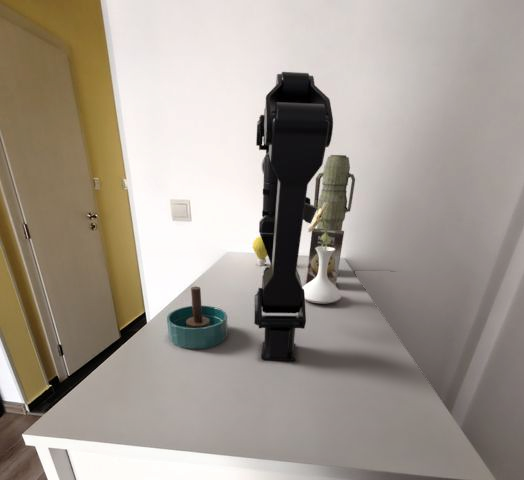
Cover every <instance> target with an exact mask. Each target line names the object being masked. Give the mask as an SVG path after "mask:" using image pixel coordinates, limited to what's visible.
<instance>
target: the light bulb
mask: <svg viewBox="0 0 524 480" xmlns="http://www.w3.org/2000/svg"><path fill="white" fill-rule="evenodd" d="M252 249H253V251H254V254H255V255H256V257H257V259H256V262H257V265H258V266H260V267H263V266H265V265H266V263H267V259H266V257H268V255H267V252H266V249H265V246H264V244H263V241H262V238H261V236H260V235H259V236H257V237H256V238H255V239H254V240H253V242H252Z"/></svg>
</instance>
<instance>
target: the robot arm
mask: <svg viewBox="0 0 524 480" xmlns="http://www.w3.org/2000/svg"><path fill="white" fill-rule="evenodd" d="M264 104H265V105H264V108H263V109H264V110H263V114H260V115H259V117H258V120H257V122H256V137H255V139H256V140H255V141H256V142H255V146H256V147H257V146H258V151H265V155H264V156H263V159H262V161H261V171H262V174H263V184H262V185H263V186H262V187H263V188H262V211H261V216H262V218H261V219H260V220H259V224H258V226H259V227H258V233H259V237H260V236H261V238H262V241H263V244H264V246H265V249H266V252H267V257H268V260H269V263H270V266H265V268H264V270H263V273H262V274H263V275H262V277H261V278H262V279H261V287H258V289H257V292H256V294H255V295H254V320H253V321H254V322H253V323H254V325H256V326H258V329H264V340H263V341H262V348H261V353H260V359H261V360H268V361H284V362H295V361H296V359H297V356H296V355H297V354H296V343H295V336H296V329H301V330H305V328H306V323H307V316H306V315H307V314H306V313H307V312H306V300H305V294H304V289H303V288H302V287H303V285H302V280H301V276H300V273H299V270H298V269H297V268H298V260H299V254H300V246H301V245H300V244H301V237H302V230H303V223H304V222H305V223H307V224H310V225H311V224H312V223H313V222H312V220H313V219H314V218H315V215H316V214H317V208H316V207H315V206H314V204H311V198H310V197H307V193H308V187H309V186H308V185H309V183H310V182H311V181H312V180H313V178H314V177H315V176H316V175H317V173H318V172H319V170H320V169H321V168H322V166H323V164H324V159H325V153H326V148H329V147H330V144H331V142H332V137H333V130H334V117H333V112H332V111H333V110H332V105H331V100H330V98H329V97H328V96H327V95H326V94H325V93H324V92H322V90H321V89H319V87H318V86H316V85H315V77H314V75H310V74H309V73H308V72H298V71H297V72H295V71H282V72H281V73H277V74H276V77H275V85H274V87H273V88H272V89H271V90H270V91H269V92H268V93H267V94H266V95H265V103H264ZM263 313H264V315H263ZM265 314H266V315H265ZM268 314H297V315H268Z"/></svg>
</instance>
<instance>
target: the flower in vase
mask: <svg viewBox="0 0 524 480" xmlns="http://www.w3.org/2000/svg"><path fill="white" fill-rule="evenodd" d="M328 204H329V203H328V202H327V203H324V204H323V207H322V209H321V208H320V209H319V211H318V214H317V213H316V216H314V217H313V220H312V222H311V224H310V225H309V226H308V227H307V230H308V231H307V232H308V233H312V230H313V229H314V228H317V225H318V223H319V222H321V221H322V223H323V225H324V228H325V233H324V234H323V235H322V237H321V239H322V240H323V244H322V245H321V247H316V250H317V252H318V256H319V270H318V274H317V276H316V278H315V279H313V280H312V281H310V282H309V283H307V284H306V283H305V284H304V285H302V288H303V289H304V294H305V301H307V302H309V303H314V304H323V305H324V304H332V303H336V302H338V301H339V300H340V299H341V298H342V293H341V291H340V289H339V288H338V287H337V285H336V286H335V285H334V284H333V283H332V282H331V281H330V280H329V279H328V277H327V267H328V263H329V259H330V257H331V255H332V253H333V252H334V251H335V249H334V248H332V247H327V244H328V243H330V242H331V239H330V238H329V236H328V234H327V230H326V226H325V223H324V221H323V215H324V213H325V212H326V210H327V207H328ZM324 243H325V244H326V245H325V247H323V245H324Z"/></svg>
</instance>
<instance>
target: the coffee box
mask: <svg viewBox="0 0 524 480" xmlns="http://www.w3.org/2000/svg"><path fill="white" fill-rule="evenodd" d="M326 230H327V234H328V236H329V238H330V239H331V242H330V243H328V244H327V247H332V248H334V249H335V251H334V252H333V253H332V255H331V257H330V259H329V263H328V267H327V277H328V279H329V280H330V281H331V282H332V283H333V284H334V285H335V286H336V287H337V281H338V273H339V268H340V261H341V255H342V248H343V241H344V236H345V230H342V231H340V230H328V229H326ZM324 233H325V229H317V227H315V228H314V229H313V230H312V231H311V236H310V245H309V246H310V247H309V253H308V262H307V270H306V272H307V273H306V280H305V285H306V284H307V283H309V282H310V281H312V280H313V279H315V278H316V276H317V274H318V270H319V256H318V252H317V250H316V247H321V245H322V244H323V240H322V239H321V237H322V235H323V234H324ZM325 245H326V244H325V243H324V245H323V247H325Z"/></svg>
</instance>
